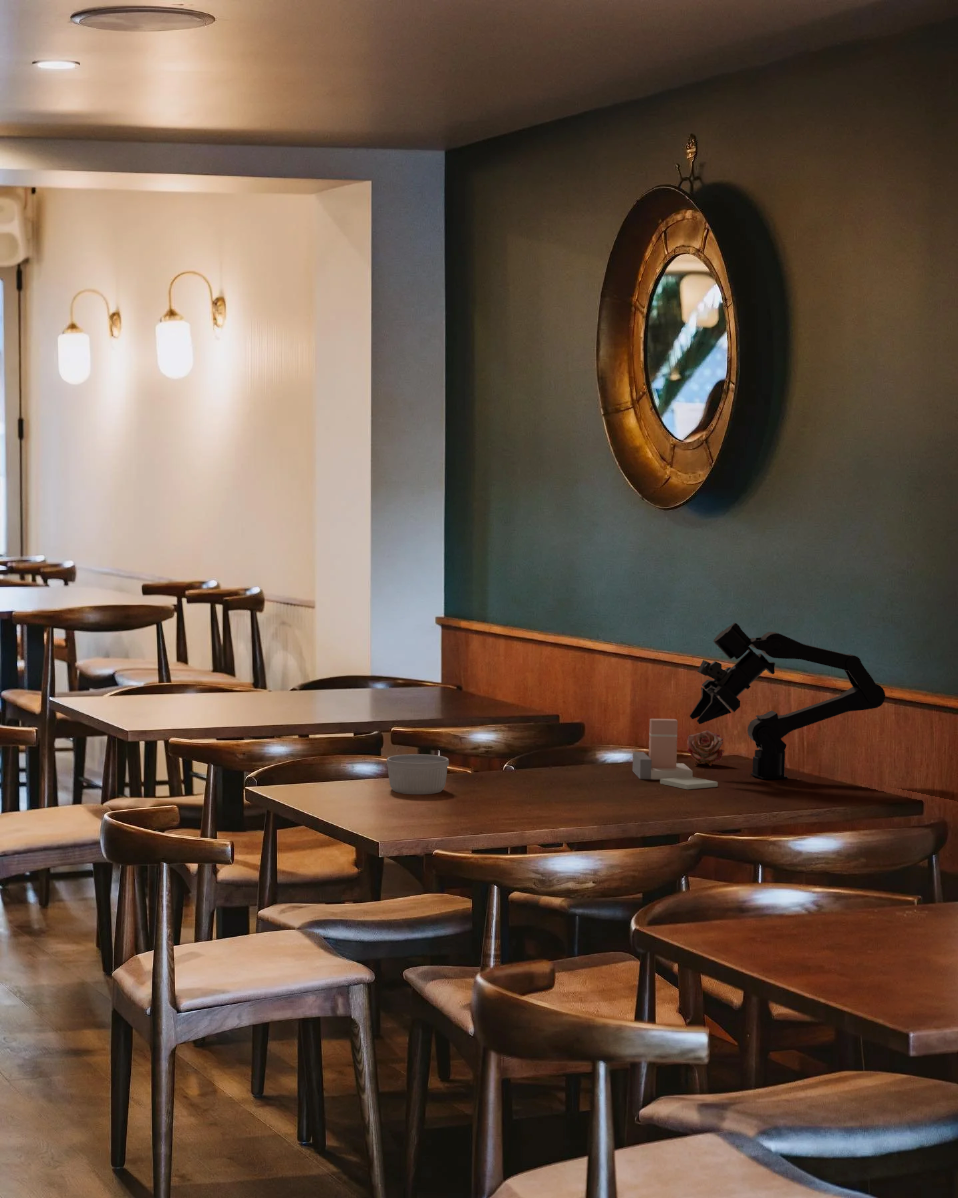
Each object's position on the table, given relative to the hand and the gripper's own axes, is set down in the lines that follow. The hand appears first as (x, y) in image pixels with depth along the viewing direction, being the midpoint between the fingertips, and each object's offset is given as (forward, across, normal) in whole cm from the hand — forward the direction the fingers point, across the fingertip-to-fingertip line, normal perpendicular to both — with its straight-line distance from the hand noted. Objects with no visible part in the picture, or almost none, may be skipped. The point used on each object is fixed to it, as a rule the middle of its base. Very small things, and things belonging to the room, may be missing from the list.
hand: (694, 720), depth 375 cm
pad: (+12, +14, +7) cm, 19 cm away
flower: (+5, -18, +14) cm, 24 cm away
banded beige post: (+14, 0, +4) cm, 15 cm away
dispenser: (+14, 0, +4) cm, 15 cm away
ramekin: (+55, +27, -36) cm, 71 cm away
